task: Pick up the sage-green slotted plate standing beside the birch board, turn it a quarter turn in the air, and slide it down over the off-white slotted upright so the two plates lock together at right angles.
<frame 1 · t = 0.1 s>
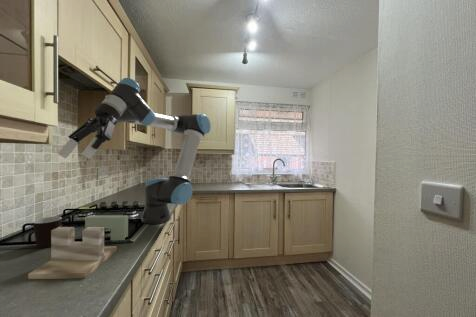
hand: (73, 156, 68), 36 cm above the counter, tool tilted 35°, fingers open, 13 cm apart
sage slotted plate: (107, 239, 90), on the counter
slotted base: (78, 262, 71), on the counter
coffee mug: (51, 243, 86), on the counter
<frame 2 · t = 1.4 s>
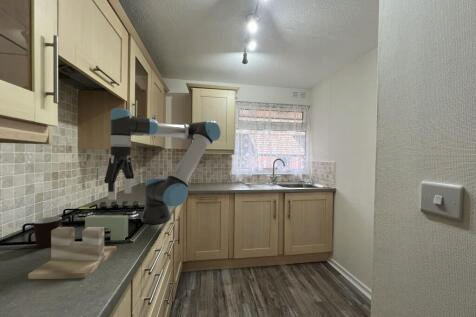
hand: (120, 196, 90), 19 cm above the counter, tool pointing down, fingers open, 13 cm apart
nothing on the counter moved.
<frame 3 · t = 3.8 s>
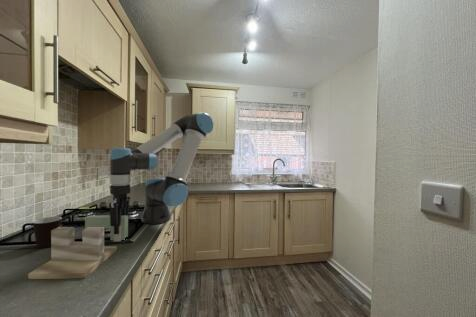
hand: (119, 239, 90), 0 cm above the counter, tool pointing down, fingers closed on sage slotted plate, 3 cm apart
sage slotted plate: (106, 239, 90), on the counter, touching gripper
everything else where it was.
when the fingers open (3 cm above the counter, at t = 10.2 s): sage slotted plate drops 1 cm, resting on slotted base.
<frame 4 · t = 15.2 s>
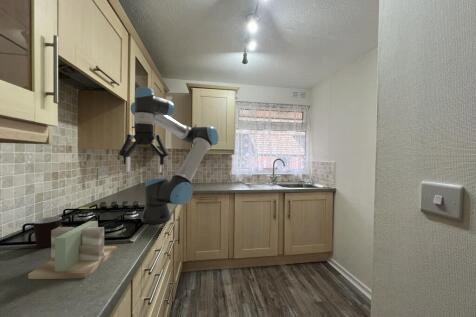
hand: (143, 172, 93), 29 cm above the counter, tool pointing down, fingers open, 13 cm apart
sage slotted plate: (78, 258, 71), point 1 cm above the counter, touching slotted base
everything else where it was.
at the end: sage slotted plate 0.1 cm off-centre on the slotted base, point 1.5 cm above the slotted base's base; sage slotted plate tilted 0°; the gripper is holding nothing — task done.
